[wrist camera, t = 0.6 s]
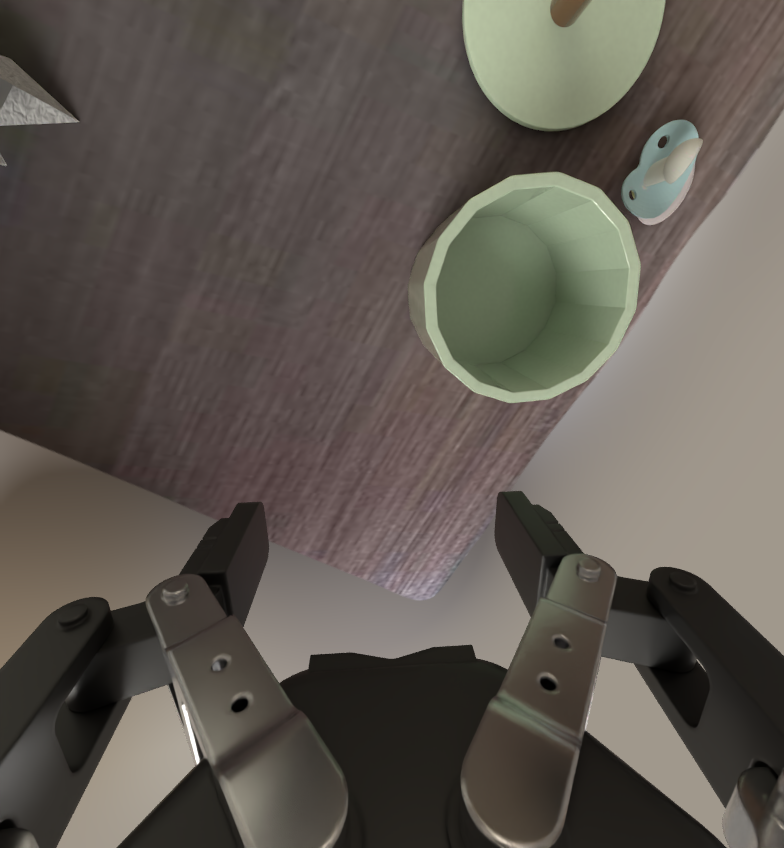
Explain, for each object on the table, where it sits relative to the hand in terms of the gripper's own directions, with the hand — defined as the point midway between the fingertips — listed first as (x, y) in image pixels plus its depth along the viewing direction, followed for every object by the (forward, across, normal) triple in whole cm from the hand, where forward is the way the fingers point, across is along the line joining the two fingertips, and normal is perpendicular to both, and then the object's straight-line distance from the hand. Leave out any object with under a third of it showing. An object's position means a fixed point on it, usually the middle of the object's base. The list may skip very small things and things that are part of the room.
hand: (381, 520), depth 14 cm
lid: (+27, -15, -27) cm, 41 cm away
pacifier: (+27, -25, -16) cm, 40 cm away
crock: (+27, -11, -6) cm, 30 cm away
